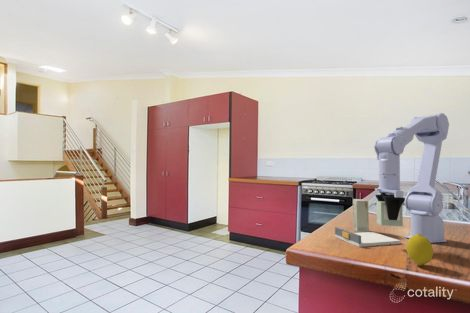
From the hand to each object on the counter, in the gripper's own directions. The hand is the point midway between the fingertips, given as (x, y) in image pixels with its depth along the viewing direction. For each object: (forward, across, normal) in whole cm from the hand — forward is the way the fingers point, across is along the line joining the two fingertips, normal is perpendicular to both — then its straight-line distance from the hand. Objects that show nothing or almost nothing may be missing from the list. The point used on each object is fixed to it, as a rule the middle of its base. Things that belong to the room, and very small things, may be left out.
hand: (389, 218), depth 84 cm
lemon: (+9, +16, +1) cm, 18 cm away
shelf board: (+9, -7, -5) cm, 12 cm away
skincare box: (+9, -20, -3) cm, 22 cm away
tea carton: (+2, 0, 0) cm, 2 cm away
